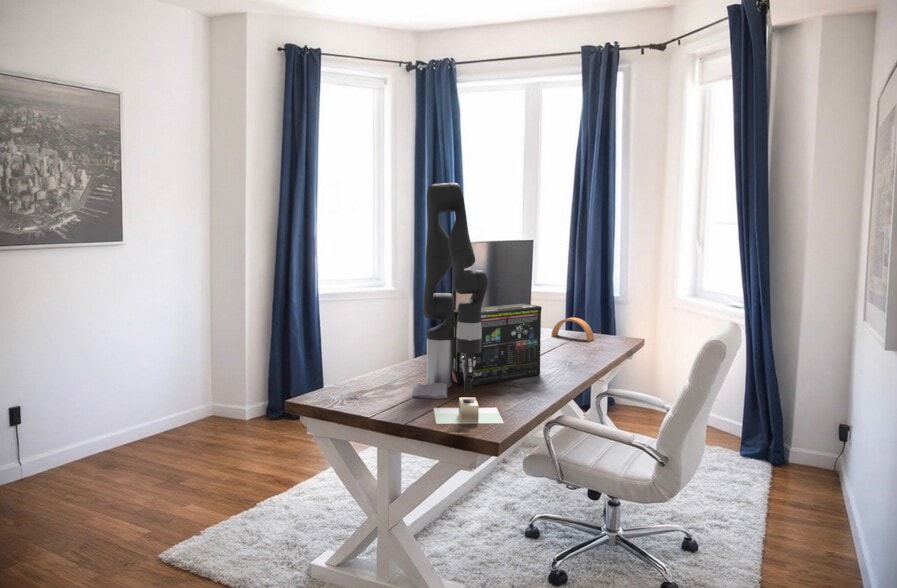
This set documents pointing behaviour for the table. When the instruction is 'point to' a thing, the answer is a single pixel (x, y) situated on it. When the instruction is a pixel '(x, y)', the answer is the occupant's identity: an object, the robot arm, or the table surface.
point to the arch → (577, 320)
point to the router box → (503, 344)
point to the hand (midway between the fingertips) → (467, 392)
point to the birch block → (468, 409)
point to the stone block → (430, 391)
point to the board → (453, 418)
